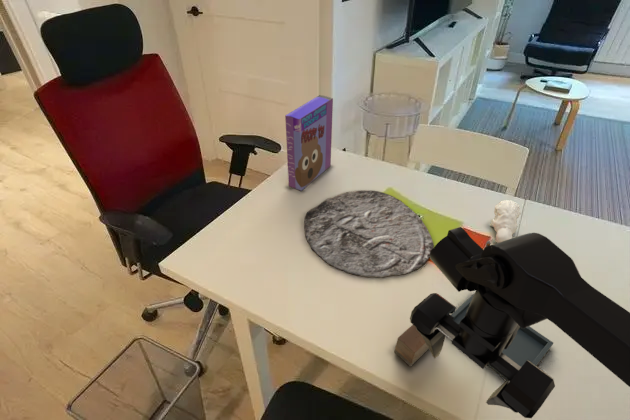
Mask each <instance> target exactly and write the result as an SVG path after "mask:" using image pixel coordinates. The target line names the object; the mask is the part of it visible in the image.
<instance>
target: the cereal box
mask: <svg viewBox="0 0 630 420" xmlns="http://www.w3.org/2000/svg"><path fill="white" fill-rule="evenodd" d="M333 106H334V98H333V97H330V96H328V95H321V94H318V95H317V96H316V97H314V98H312V99H310V100H309V101H307V102H305V103H303V104H302V105H300V106H298V107H297V108H295V109H294V110H292V111H290V112H289V113H287V114H285V117H284V118H285V120H284V121H285V136H286V139H285V140H286V156H287V157H286V159H287V177H288V178H287V180H288V187H289V188H292V189H295V190H297V191H299V192H302V191H303V190H305V189H306V188H307V187H308V186H310V185H311V184H312V183H313V182H314V181H316V179H318V178H319V177H320V176H321V175H323V173H325V172H326V171H327V170H328V169H329V168H331V166H332V165H331V163H332V138H333V137H332V136H333V133H332V132H333V111H334V109H333V108H334V107H333Z"/></svg>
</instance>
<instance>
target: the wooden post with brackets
mask: <svg viewBox="0 0 630 420" xmlns="http://www.w3.org/2000/svg"><path fill="white" fill-rule="evenodd" d="M490 245H492V242H491V240H487V241H486V242H485V247H483V250H484V249H485V248H486V247H487V246H490Z"/></svg>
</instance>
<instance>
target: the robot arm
mask: <svg viewBox="0 0 630 420" xmlns="http://www.w3.org/2000/svg"><path fill="white" fill-rule="evenodd" d="M429 259H430V260H431V262H432V263H433V264H434V265H435V266H436V267H437V269H439V271H440V272H441V274H443V275H444V277H445V278H446V279H447V280H448V282H449V283H450V284H451V285H452V286H453V287H454V288H455V289H456V291H457V292H459V293H460V292H462V291H466V290H467V291H468V292H474V291H475V292H474V293H475V294H474V293H473V294H474V296H473V298H472V301H471V303H470V305H469V308H468V310H467V313H466V315H465V317H464V318H463V319H462V320H461V321H460V324H457V323H456V322H455V321H453V319H454V317H452V316H451V315H452V314H453V313H454V312H455V311H456V310H457V306H455V305H454V304H453V303H451V302H450V301H448V299H446V298H445V297H443V296H442V295H440V294H439V293H437V292H433V293H430V294H429V295H427V296H426V297H425V298H424V299H423V300H421V301H420V302H419V303H418V304H417V305H415V306H414V307H413V309H412V310H411V312H410V316H409V323H411V324H412V325H414V326H415V327H416V330H417V331H418V332H419V333H420V334H421V336H422V337H423V339H424V341H425V342H426V344H427V346H428V348H429V349H428V351H429V352H430V354H431V356H432V357H433V358H434V359H437V358H438V357H439V355H441V352H442V350H443V347H444V344H445V339H446V338H448V339H449V340H450V341H451V345H453V346H454V347H455V348H457V349H458V350H459V351H460V352H461V353H462V354H464V355H465V356H466V357H467V358H469V359H470V360H471V361H473V363H475V364H476V365H477V366H479V367H480V368H481V369H483V370H484V369H485V368H486V367H487V366H488V365H487V364H489V365H490V366H492V367H493V368H494V369H495V370H497V371H498V372H499V373H500V374H502V375H503V376H504V377H506V378H507V380H506V379H505V381H504V382H503V383H501V385H499V386H498V387H497V388H496V390H494V391H493V392H492V393H491V395H490V396H489V397H488V398H487V400H486V402H485V403H486V404H487V405H488V406H498V407H504V408H506V409H509V410H511V411H512V412H513V413H516V414H517V413H518V414H520V415H521V416H522V417H523V418H524V419H532V418H533V417H535V415H536V414H537V413H538V411H539V410H540V409H541V407H542V406H543V405H544V403H545V401H547V398H548V397H549V396H550V394H551V393H552V391H553V390H554V388H555V387H556V383H555V379H554V377H552V376H551V375H549V374H548V373H546V372H545V371H543V370H542V369H541V368H539V367H538V365H537V366H535V365H534V364H533V363H531V362H530V361H529V360H527V361H526V362H525V363H524V365H523V366H522V367H521V366H519V365H518V364H517V363H515V362H514V361H513V360H511V359H510V358H509V357H507V356H506V355H505V354H503V353H502V351H503V349H507V348H508V347H509V346H510V344H511V343H512V341H513V339H514V338H515V336H516V334H517V331H518V329H519V328H520V327H521V328H526V327H529V326H530V327H531V326H533V325H536V324H538V323H541V322H544V321H545V320H548V321H549V322H551V323H552V324H554V325H555V326H556V327H558V329H560V330H561V331H562V332H563V333H565V335H567V336H568V337H569V338H571V340H573V341H574V342H575V343H577V345H579V346H580V347H581V348H583V349H584V351H586V352H587V353H589V355H591V356H592V357H593V358H595V360H597V361H598V362H599V363H600V364H601V365H602V366H604V367H605V368H606V369H607V370H608V371H610V372H611V373H612V374H613V375H615V376H616V377H617V378H618V379H619V380H620V381H622V382H623V383H624V384H626V386H628V387H629V388H630V311H628V310H627V309H626V308H624V307H622V306H621V305H620V304H619V303H616V302H615V301H613V300H612V299H611V298H609V297H608V296H607V295H605V294H604V293H603V292H601V291H599V290H598V289H596V288H595V287H593V286H592V285H591V284H590V283H589V282H588V281H586V280H585V279H584V278H583V277H582V276H581V274H580V271H579V269H578V267H577V266H576V263H575V261H574V260H573V258H572V257H571V256H569V254H567V253H566V252H565V251H563V250H562V249H561V248H560V247H559V246H557V244H555V243H554V242H553V241H552V240H551V239H550V238H548V237H547V236H545V235H544V234H541V233H539V232H529V233H525V234H521V235H518V236H516V237H512V239H508V240H505V241H502V242H499V243H497V242H495V243H493V244H491V245H490V246H487V247H486V248H485V249H484V248H482V246H481V245H479V244H478V243H477V242H476V241H475V240H474V239H473V238H472V237H471V236H470V235H469V234H468V232H467V231H466V230H465V229H464V228H463V227H462V226H459V227H455V228H452V229H449V230H448V232H447V234H446V236H444V237H443V238H442V239H440V240H439V241H438V242H437V243H436V244H435V245H434V248H433V249H432V250H431V252H430V258H429ZM490 366H489V367H490ZM495 370H494V371H495ZM500 374H499V375H500ZM504 377H503V378H504Z"/></svg>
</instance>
